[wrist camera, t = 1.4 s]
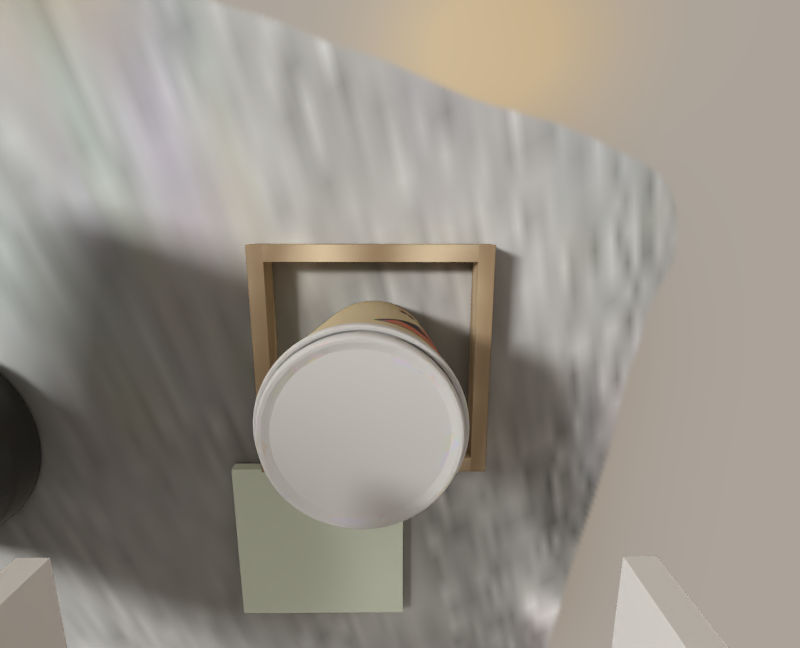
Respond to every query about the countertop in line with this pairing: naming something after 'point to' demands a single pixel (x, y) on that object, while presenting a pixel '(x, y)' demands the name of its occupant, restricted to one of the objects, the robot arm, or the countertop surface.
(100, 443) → the countertop surface
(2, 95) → the countertop surface
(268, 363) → the oak frame
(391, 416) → the coffee cup
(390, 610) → the sage tile
